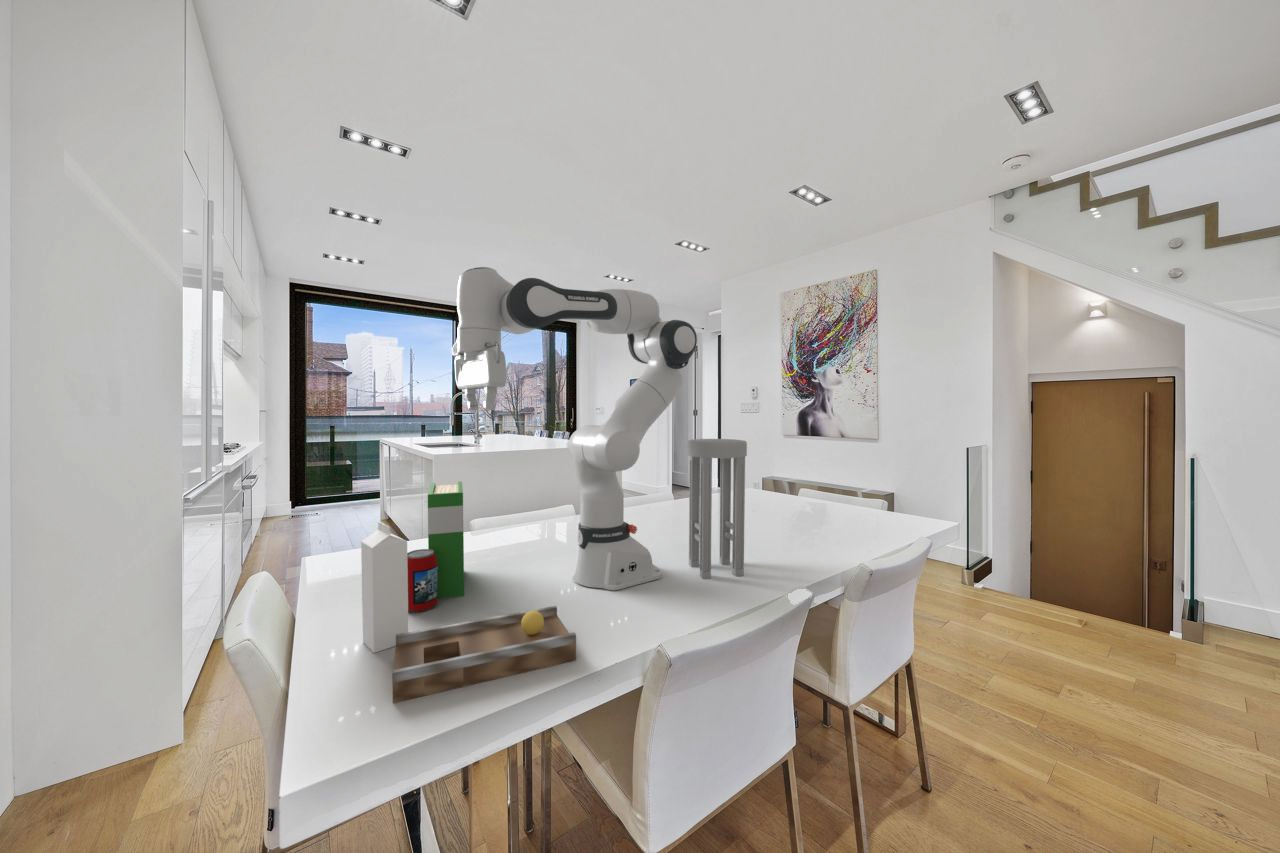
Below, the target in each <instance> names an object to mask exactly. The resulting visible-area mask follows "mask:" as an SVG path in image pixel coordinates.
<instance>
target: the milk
mask: <svg viewBox="0 0 1280 853" xmlns="http://www.w3.org/2000/svg"><path fill="white" fill-rule="evenodd" d="M360 544H361V546H360V547H361V548H360V549H361V551H360V552H361V553H360V556H361V597H362V598H361V600H362V601H361V602H362V603H361V606H362V608H361V609H362V613H361V614H362V641H363V643H364V645H365V646H367V647H368V649H369V650H370V651H371V652H372V653H373V654H376V653H379V652H381V651H385V650H387V649H390V648H393V647H396V634H401V633H407V632H409V610H408V567H407V553H408V541H407V540H405V539H403V538H402V537H400V536H397V535H396V534H393V533H391V527H390V526H389V525H386V524H385V523H383V522H381V521H378V522H377V530H375V531H374V532H373V533H371V534H370V535H368V536H367V537H366V538H364V539H362V540H361V541H360Z"/></svg>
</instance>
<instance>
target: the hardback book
mask: <svg viewBox="0 0 1280 853" xmlns="http://www.w3.org/2000/svg"><path fill="white" fill-rule="evenodd" d="M463 489H464V488H463V481H458V482H457V484H442V485H436V482H431V483H430V486H429V489H428V492H427V533H428V534H427V536H428V543H427V544H428V546H427V547H428V548H427V549H430V550H433V551H434V554H435V556H436V557H437V578H438V600H441V599H448V598H449V599H450V598H456V597H464V596H465V581H464V580H465V562H464V560H465V559H464V558H465V557H464V553H465V552H464V551H465V550H464V541H465V540H464V490H463Z"/></svg>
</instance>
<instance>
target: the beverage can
mask: <svg viewBox="0 0 1280 853" xmlns="http://www.w3.org/2000/svg"><path fill="white" fill-rule="evenodd" d="M407 567H408V612H412V613H420V612H424V611H428V610H430V609H432V608H434V606H436V604H437V603H438V600H439V599H438V578H437V557H436V556H435V554H434V551H433V550H430V549H428V548H423V549H415V550H411V551H409V552H408V551H407Z"/></svg>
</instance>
